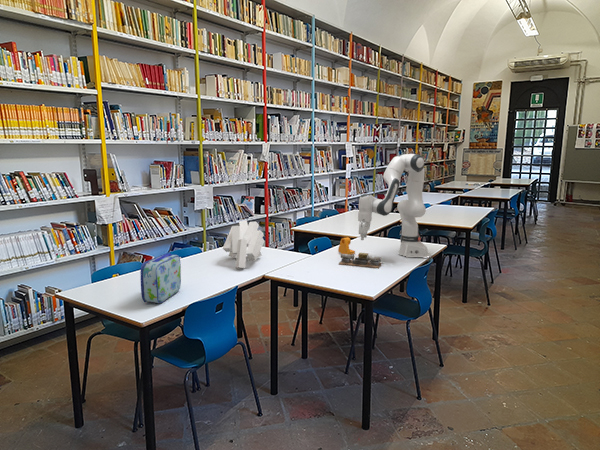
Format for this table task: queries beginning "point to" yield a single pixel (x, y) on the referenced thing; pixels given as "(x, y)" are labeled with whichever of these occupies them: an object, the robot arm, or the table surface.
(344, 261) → the shaft bench
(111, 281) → the table surface
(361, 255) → the coupler
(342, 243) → the orange toy figure
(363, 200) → the robot arm
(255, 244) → the pile of blocks
